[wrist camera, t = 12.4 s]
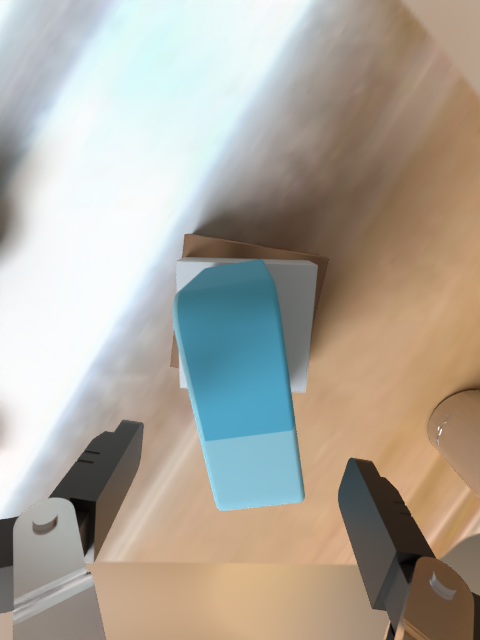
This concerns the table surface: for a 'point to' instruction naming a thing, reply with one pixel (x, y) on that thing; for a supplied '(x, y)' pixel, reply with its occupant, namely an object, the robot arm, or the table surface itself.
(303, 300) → the tower top block
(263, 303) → the data package
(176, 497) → the table surface
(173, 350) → the tower base block
